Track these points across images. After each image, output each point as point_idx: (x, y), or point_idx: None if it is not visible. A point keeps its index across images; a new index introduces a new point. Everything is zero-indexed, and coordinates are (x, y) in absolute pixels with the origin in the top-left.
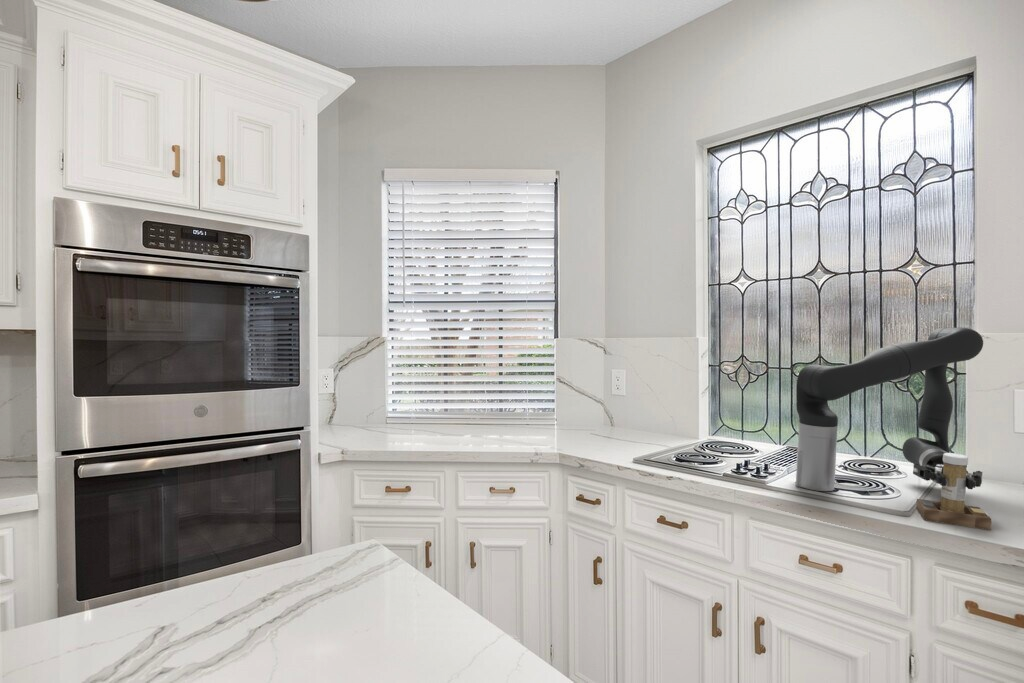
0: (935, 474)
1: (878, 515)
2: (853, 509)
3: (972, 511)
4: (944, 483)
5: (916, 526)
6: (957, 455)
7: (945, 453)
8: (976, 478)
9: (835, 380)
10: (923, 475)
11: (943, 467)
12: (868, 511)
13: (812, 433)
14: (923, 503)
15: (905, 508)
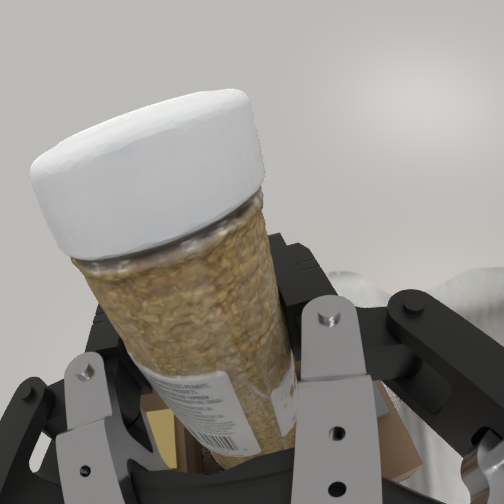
0: (332, 290)
1: (443, 284)
2: (498, 279)
3: (176, 428)
4: None
5: (343, 278)
6: (121, 117)
7: (221, 91)
8: (53, 385)
9: None
10: (444, 402)
11: (267, 236)
12: (475, 294)
13: None
14: None
15: (439, 439)
